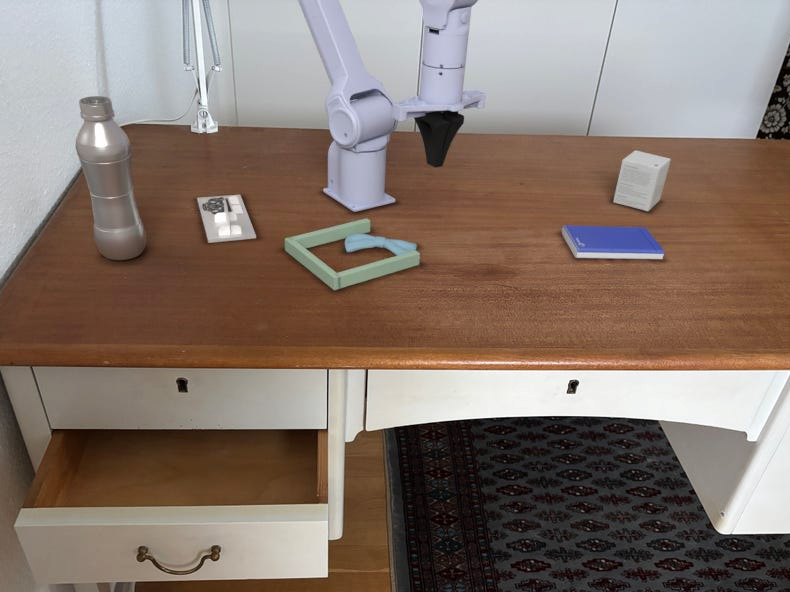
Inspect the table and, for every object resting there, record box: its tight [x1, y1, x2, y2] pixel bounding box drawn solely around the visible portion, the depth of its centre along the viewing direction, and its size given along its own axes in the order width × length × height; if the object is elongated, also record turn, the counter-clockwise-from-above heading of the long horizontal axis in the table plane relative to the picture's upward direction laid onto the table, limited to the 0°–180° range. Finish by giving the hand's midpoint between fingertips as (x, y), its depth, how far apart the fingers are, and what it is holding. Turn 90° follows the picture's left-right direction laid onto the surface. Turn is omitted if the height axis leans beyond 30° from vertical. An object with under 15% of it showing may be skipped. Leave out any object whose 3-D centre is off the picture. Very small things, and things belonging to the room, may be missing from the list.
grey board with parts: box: [196, 194, 257, 244], centre depth 105 cm, size 15×7×4 cm, turn 17°
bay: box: [284, 217, 421, 291], centre depth 97 cm, size 13×14×2 cm
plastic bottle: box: [74, 95, 147, 261], centre depth 90 cm, size 6×7×20 cm
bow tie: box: [344, 233, 418, 256], centre depth 100 cm, size 10×2×5 cm
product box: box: [612, 150, 672, 212], centre depth 116 cm, size 6×6×7 cm
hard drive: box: [561, 224, 665, 260], centre depth 103 cm, size 2×8×12 cm
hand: (434, 164), depth 102 cm, fingers closed
